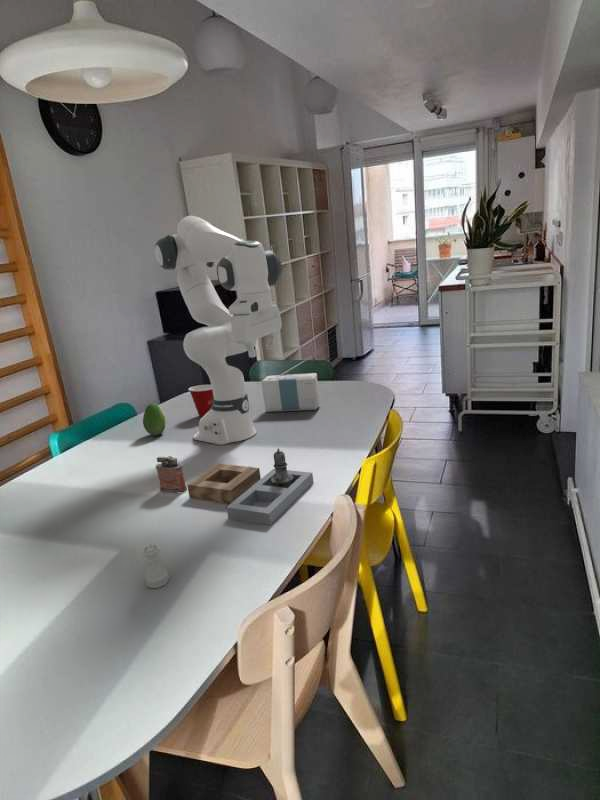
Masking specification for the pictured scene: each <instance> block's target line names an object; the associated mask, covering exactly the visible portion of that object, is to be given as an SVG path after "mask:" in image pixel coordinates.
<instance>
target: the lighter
mask: <svg viewBox="0 0 600 800" xmlns="http://www.w3.org/2000/svg"><path fill="white" fill-rule="evenodd" d="M156 462H157V463H158V464H156V465H155V470H156V472H157V476H158V477H157V478H158V482H159V489H160V492H161V491H162V493H166V492H173V493H172V494H179V493H178V492H183V493H185V492H187V491H188V487H187V485H186V480H185V475H184V472H183V471H184V470H183V464H182V463H178V458H177V457H173V456H171V455H168V456H167V457H166V456H158V457H157V458H156ZM186 490H187V491H186ZM184 491H185V492H184Z"/></svg>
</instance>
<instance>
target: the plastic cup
mask: <svg viewBox="0 0 600 800" xmlns="http://www.w3.org/2000/svg"><path fill="white" fill-rule="evenodd" d="M188 391H189V393H190V395H191V399H192V400H193V404H194V406H195V409H196V411H197V415H198V417H199V418H200V419H201V418H202V417H203V416H204V415H205V414H206V413H207V412H208V411H209V410H210V409H211V405H212V403H211V404H209V403H210V402H208V401H210V400H212V399H213V398H214V396H213V391H212V386H211V384H201V385H195V386H191V387H189V388H188ZM208 404H209V405H208Z"/></svg>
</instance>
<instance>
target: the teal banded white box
mask: <svg viewBox="0 0 600 800" xmlns="http://www.w3.org/2000/svg"><path fill="white" fill-rule="evenodd" d="M310 358H311V359H312V356H309V357H308V358H306V359H304V360H303V361H301V362H299V363H297V364H296V365H294V366H292V367H291V368H289V369H287V370H285V371H284V372H282V373H281V374H278V375H277V374H276V375H275V374H274V375H268V376H266V377H264V379H262V381H261V388H262V397H263V404H264V408H265V409H264V410H265V411H266V412H268V413H271V412H291V411H293V412H294V411H316V410H317V409H318V408H319V406H320V404H321V402H320V393H319V383H318V382H319V381H318V374H317V373H316V372H311V373H294V374H286V373H288V372H290V371H291V370H293V369H295V368H296V367H298V366H299V365H302V363H305V362H306V361H307V360H309V359H310Z"/></svg>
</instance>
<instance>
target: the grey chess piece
mask: <svg viewBox="0 0 600 800" xmlns="http://www.w3.org/2000/svg"><path fill="white" fill-rule="evenodd" d="M273 461H274V462H273V463H274V464H273V468H274V469H275V472H276V474H275V476H274V477H272V478H271V481H272V482H273V485H274V487H282V488H288V487H290V486H291V485H292V481H293V480H292V479H293V476H292V475H291V474H288V473H287V470H288V469H287V466H288V463H287V462H286V456H285V452H283V451H282V450H280V448H277V450H276V451H274V453H273Z"/></svg>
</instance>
